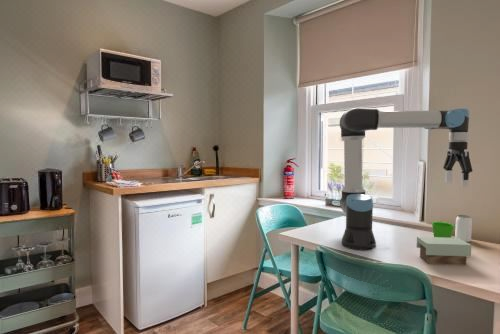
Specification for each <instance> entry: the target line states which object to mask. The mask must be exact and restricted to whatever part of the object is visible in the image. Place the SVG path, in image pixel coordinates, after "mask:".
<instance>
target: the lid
mask: <svg viewBox="0 0 500 334" xmlns="http://www.w3.org/2000/svg"><path fill="white" fill-rule="evenodd" d="M420 244H421V245H422V246H424V247H425V248H426V255H442V256H467V257H472V243H471V244H470V243H469V242H465V241H463V240H461V239H459V238H455V237H451V238H444V237H434V236H417V237H416V248H418V249H420Z"/></svg>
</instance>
